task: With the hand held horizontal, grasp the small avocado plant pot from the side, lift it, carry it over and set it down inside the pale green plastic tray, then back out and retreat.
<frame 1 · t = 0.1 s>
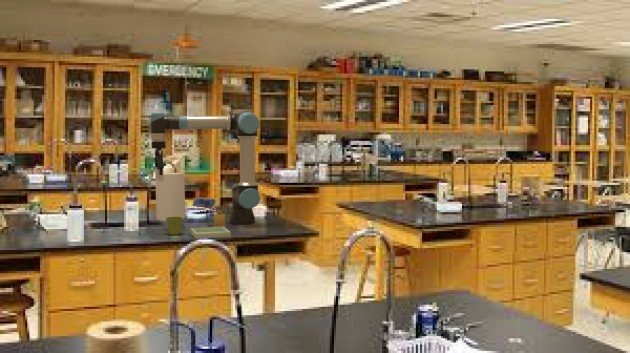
hand: (159, 180, 376), 28 cm above the countertop, tool pointing down, fingers open, 13 cm apart
cylinder: (170, 219, 421), on the countertop
mineral: (204, 213, 446), on the countertop
tray: (210, 235, 364), on the countertop
reagent bottle: (219, 230, 380), on the countertop
plant pot: (174, 234, 369), on the countertop
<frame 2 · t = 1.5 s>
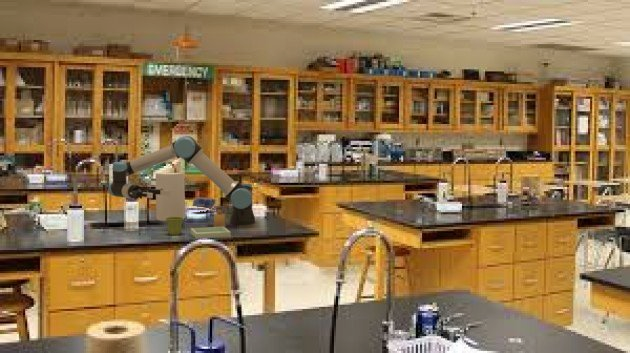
hand: (161, 194, 371), 21 cm above the countertop, tool horizontal, fingers open, 13 cm apart
nothing on the countertop moved.
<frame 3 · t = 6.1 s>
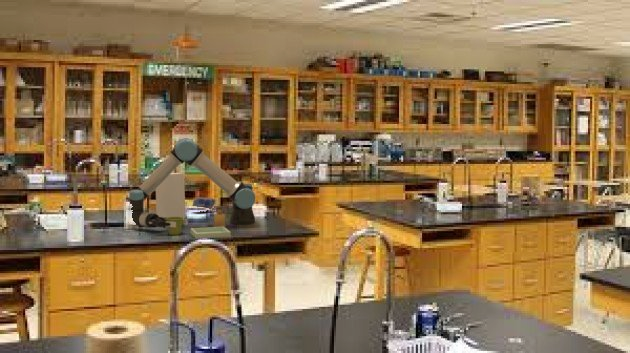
hand: (181, 223, 366), 6 cm above the countertop, tool horizontal, fingers closed on plant pot, 8 cm apart
plant pot: (174, 234, 369), on the countertop, touching gripper
everything else where it was.
when the fingers open (8 cm above the countertop, at t = 11.3 s): plant pot drops 1 cm, resting on tray.
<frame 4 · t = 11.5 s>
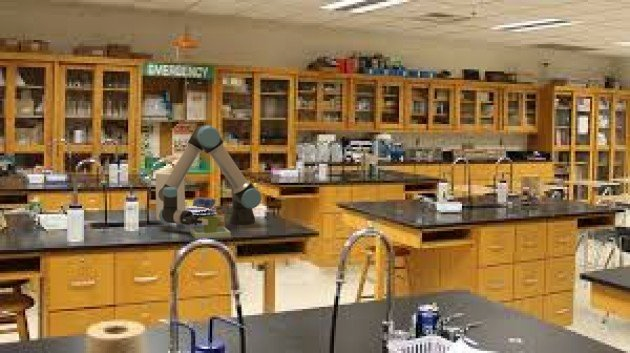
hand: (215, 220, 361), 8 cm above the countertop, tool horizontal, fingers open, 12 cm apart
plant pot: (210, 234, 364), point 1 cm above the countertop, touching tray
everything else where it was.
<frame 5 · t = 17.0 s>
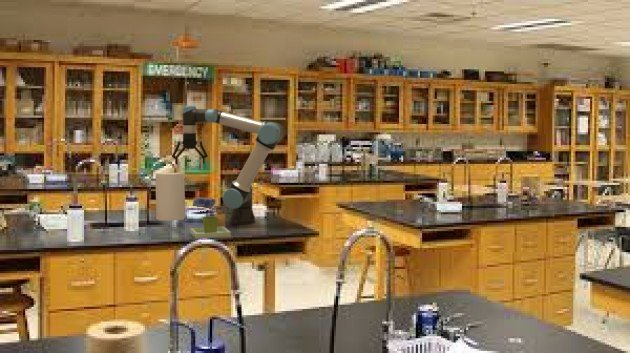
hand: (190, 169, 396), 32 cm above the countertop, tool pointing down, fingers open, 13 cm apart
nothing on the countertop moved.
at the end: plant pot inside the target area on the tray (0.7 cm from its centre), point 0.6 cm above the tray's base; plant pot tilted 0°; the gripper is holding nothing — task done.
